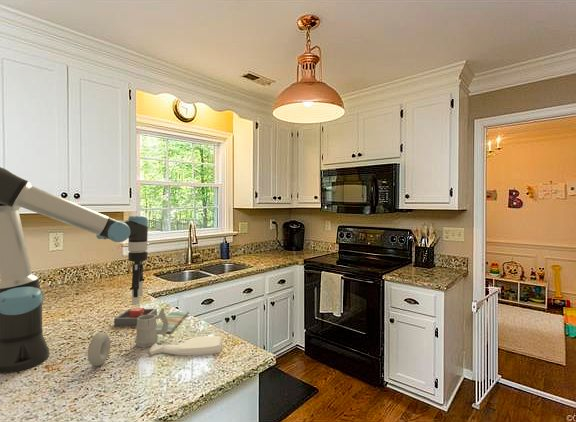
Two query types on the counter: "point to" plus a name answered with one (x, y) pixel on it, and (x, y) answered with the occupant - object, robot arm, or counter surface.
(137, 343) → the mug
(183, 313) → the board
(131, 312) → the die
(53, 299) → the counter surface
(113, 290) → the counter surface
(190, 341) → the beige tapered paddle
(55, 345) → the counter surface
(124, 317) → the tray
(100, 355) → the donut
